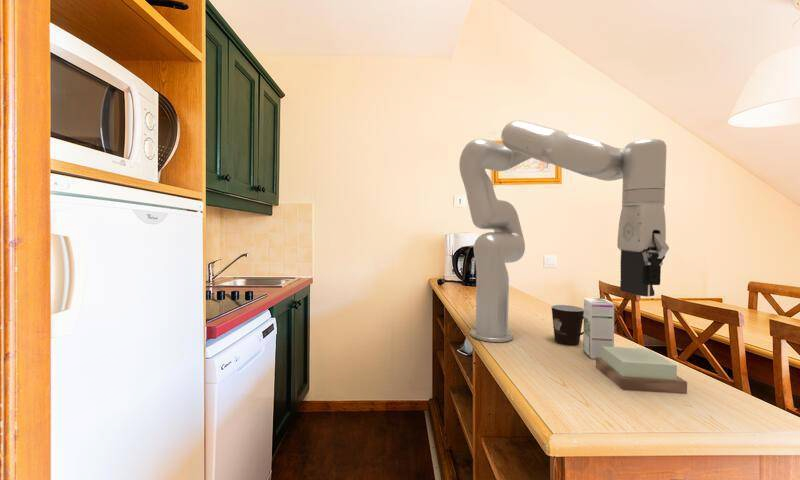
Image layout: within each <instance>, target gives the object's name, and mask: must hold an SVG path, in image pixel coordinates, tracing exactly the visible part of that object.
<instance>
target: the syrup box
mask: <svg viewBox="0 0 800 480" xmlns="http://www.w3.org/2000/svg"><path fill="white" fill-rule="evenodd" d="M583 309H584V315H583V317H584V319H583V332H584V333H583V335H582V337H583V341H582V343H583V349H582V350H583V352H584V353H585V354H586V355H587V356H588V358H590V359H595V360H596V357H601V358H602V346H607V347H615V346H614V345H615V303H614V302H612V301H610V300H608V299H606V298H598V297H597V298H596V297H587V298H586V297H584V298H583Z"/></svg>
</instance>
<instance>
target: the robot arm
mask: <svg viewBox="0 0 800 480" xmlns="http://www.w3.org/2000/svg"><path fill="white" fill-rule="evenodd" d="M500 139H501V141H502V143H500V142H496V141H493V140H488V139H484V138H483V139H481V138H476V139H473V140H470V141H468V143H467V144H466V145H465V146H464V148H463V149H462V151H461V154H460V157H459V165H458V166H459V173H460V177H461V179H462V183H463V186H464V190H465V194H466V198H467V203H468V208H469V212H470V216H471V220H472V224H473V225H474V226H475V227H476V228H478V229H480V230H493V232H492V231H491V232H485V233H482V234H481V235H479V236H478V237H477V238H476V239H475V241H474V245H473V254H474V255H473V257H474V263H475V270H476V271H475V272H476V276H475V277H476V278H475V279H476V283H475V285H476V289H475V290H476V291H475V293H476V295H475V307H476V308H475V327H474V328H472V329H471V330H470V336H471V337H472V338H474V339H475V340H476V339H477V340H480V341H482V342H483V341H484V342H491V343H505V342H510V341H512V340H513V339H514V333H513V332H512V331H510V330H509V299H510V298H509V297H510V296H509V295H510V293H509V291H510V279H509V278H510V277H509V272H508V269H507V265H506V264H511V263H515V262H518V261H519V260H521V259H522V257H524V254H525V250H526V245H525V244H526V243H525V239H524V238H525V237H524V234H523V229H522V227H521V223H520V218H519V215H518V212H517V209H516V208H515V206H514V205H513V204H512V203H510V202H509V201H506V200H502V199H498V198H497V195H496V192H495V189H494V185H493V184H494V183H493V182H492V179H491V178H490V176H489V175H488V174H487V173H488V172H487V171H486V170H489V171H496V172H504V171H505V172H506V171H508V170H510V169H513V168H515V167H516V166H518V165H520V164H523V163H525V162H526V161H528V160H529V159H534V160H537V161H540V162H543V163H545V164H547V165H549V164H551V165H554V166H556V167H560V168H562V169H565V170H568V171H571V172H574V173H577V174H579V175H581V176H585V177H587V178H588V177H589V178H594V179H597V180H599V181H600V180H601V181H606V182H607V181H608V182H609V181H610V182H611V181H612V182H613V181H616V180H621V179H622V188H621V189H622V192H621V193H622V196H621V197H622V198H621V207H622V208H621V209H620V210H621V211H620V215H619V221H618V230H617V231H618V232H617V245H616V246H617V249H618V250H619V251H621V250H624V251H631V252H642V254H643V258H644V262H645V265H643V268H642V284H644V285H653V286H660V285H661V274H662V273H661V271H662V270H661V269H662V266H663V265H664V263H663V261H664V260H665V258H666V255H667V253H668V251H669V250H670V249H669V248H670V246H669V245H668V244H667V243H666V242H667V241H666V240H667V228H666V227H667V226H666V215H665V214H666V211H665V201H666V178H667V177H666V176H667V174H666V172H667V171H666V170H667V169H666V168H667V144H666V142H665V141H664V140H662V139H656V138H650V139H649V138H647V139H641V140H640V139H639V140H636V141H635V140H634V141H632V142H629V143H627V145H626V146H625V147H624V148H621V147H614V146H613V145H609V144H606V143H603V142H600V141H597V140H593V139H589V138H585V137H582V136H578V135H574V134H570V133H567V132H564V131H563V130H559V129H556V128H552V127H548V126H544V125H540V124H537V123H533V122H529V121H525V120H512V121H510V122H508V123H507V124H506V125H505V126H504V128H503V129H502V131H501V135H500ZM648 247H651V248H653V249H654V250H647V249H648ZM649 254H652V256H651V257H650V256H649Z"/></svg>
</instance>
